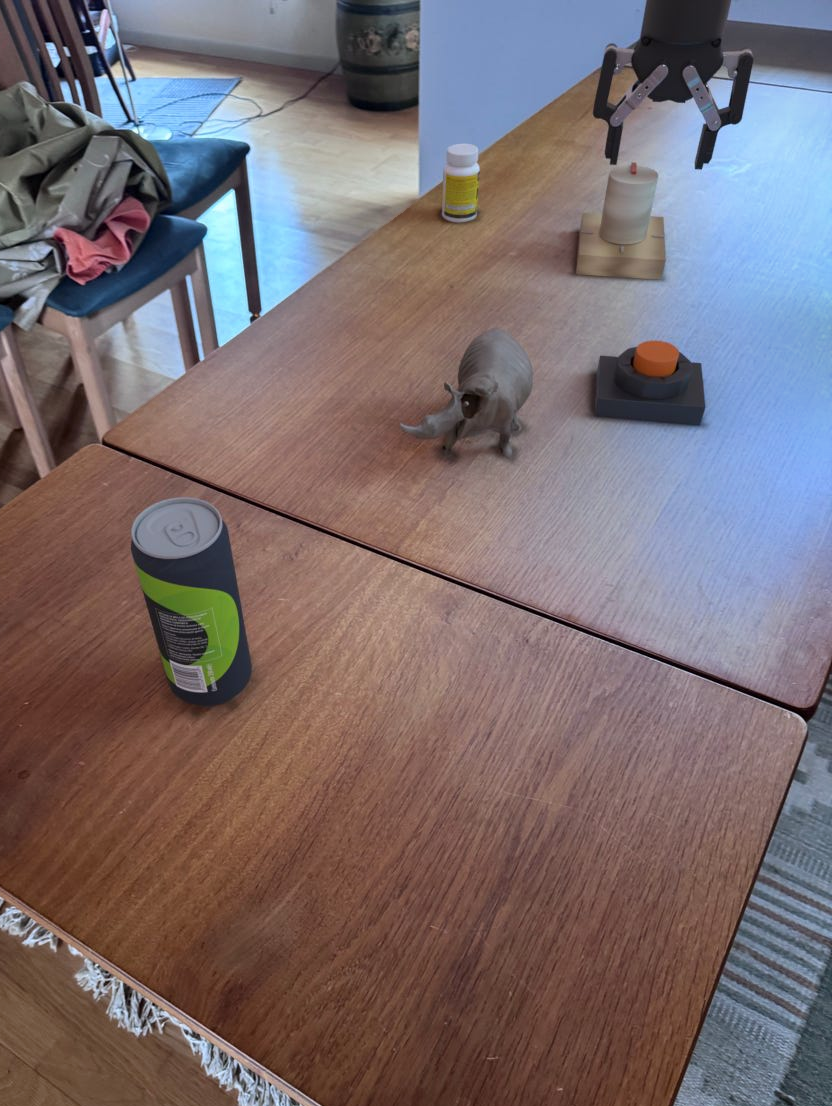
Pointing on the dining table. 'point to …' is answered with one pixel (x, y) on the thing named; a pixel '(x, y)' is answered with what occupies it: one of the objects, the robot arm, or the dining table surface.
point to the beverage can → (192, 599)
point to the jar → (628, 204)
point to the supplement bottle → (460, 183)
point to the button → (655, 358)
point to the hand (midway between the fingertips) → (655, 164)
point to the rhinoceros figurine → (483, 393)
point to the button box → (649, 391)
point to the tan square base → (620, 251)
